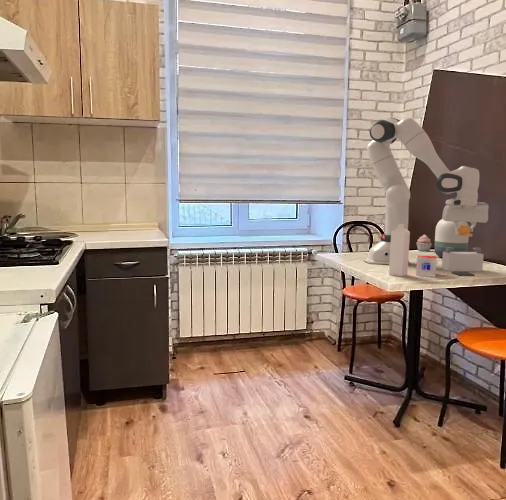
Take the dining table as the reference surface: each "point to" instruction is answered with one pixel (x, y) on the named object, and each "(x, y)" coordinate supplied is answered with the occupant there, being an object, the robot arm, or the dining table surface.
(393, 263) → the milk
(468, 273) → the mat
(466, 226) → the cap
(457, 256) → the white rectangular block
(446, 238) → the vase
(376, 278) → the dining table surface
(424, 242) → the cupcake
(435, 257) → the white printed cube
